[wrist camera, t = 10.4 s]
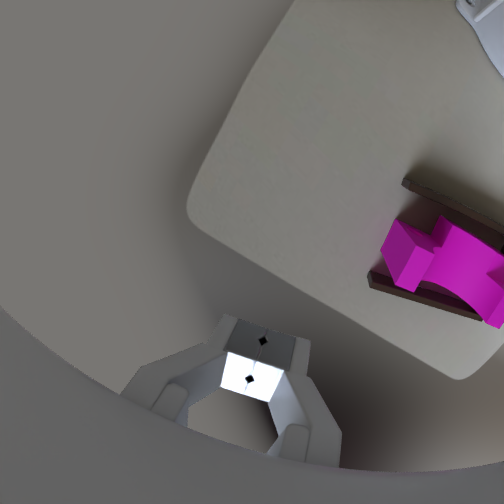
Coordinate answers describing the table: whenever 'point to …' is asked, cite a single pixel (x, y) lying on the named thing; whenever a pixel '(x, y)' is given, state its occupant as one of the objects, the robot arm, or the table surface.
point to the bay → (421, 293)
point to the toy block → (448, 264)
